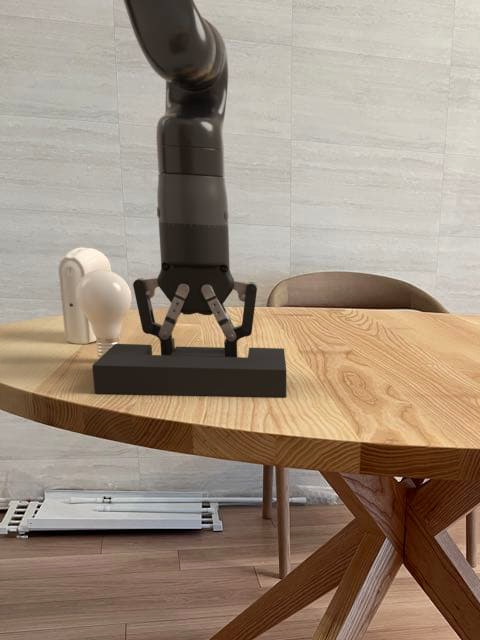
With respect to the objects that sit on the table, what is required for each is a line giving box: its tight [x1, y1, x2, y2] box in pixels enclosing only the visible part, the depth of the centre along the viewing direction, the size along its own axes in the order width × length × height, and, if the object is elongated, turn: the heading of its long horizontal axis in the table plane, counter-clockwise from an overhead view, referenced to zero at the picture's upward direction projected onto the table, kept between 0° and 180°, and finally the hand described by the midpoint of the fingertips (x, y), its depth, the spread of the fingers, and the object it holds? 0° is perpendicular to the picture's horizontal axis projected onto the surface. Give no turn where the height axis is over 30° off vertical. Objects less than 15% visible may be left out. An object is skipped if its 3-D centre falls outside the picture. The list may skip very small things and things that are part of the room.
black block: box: [171, 345, 225, 357], centre depth 97 cm, size 6×6×3 cm
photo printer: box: [58, 246, 112, 345], centre depth 116 cm, size 10×4×12 cm, turn 177°
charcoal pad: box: [91, 343, 287, 398], centre depth 94 cm, size 20×14×3 cm
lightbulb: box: [76, 269, 133, 359], centre depth 101 cm, size 6×6×11 cm
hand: (200, 371), depth 98 cm, fingers closed on black block, 6 cm apart
